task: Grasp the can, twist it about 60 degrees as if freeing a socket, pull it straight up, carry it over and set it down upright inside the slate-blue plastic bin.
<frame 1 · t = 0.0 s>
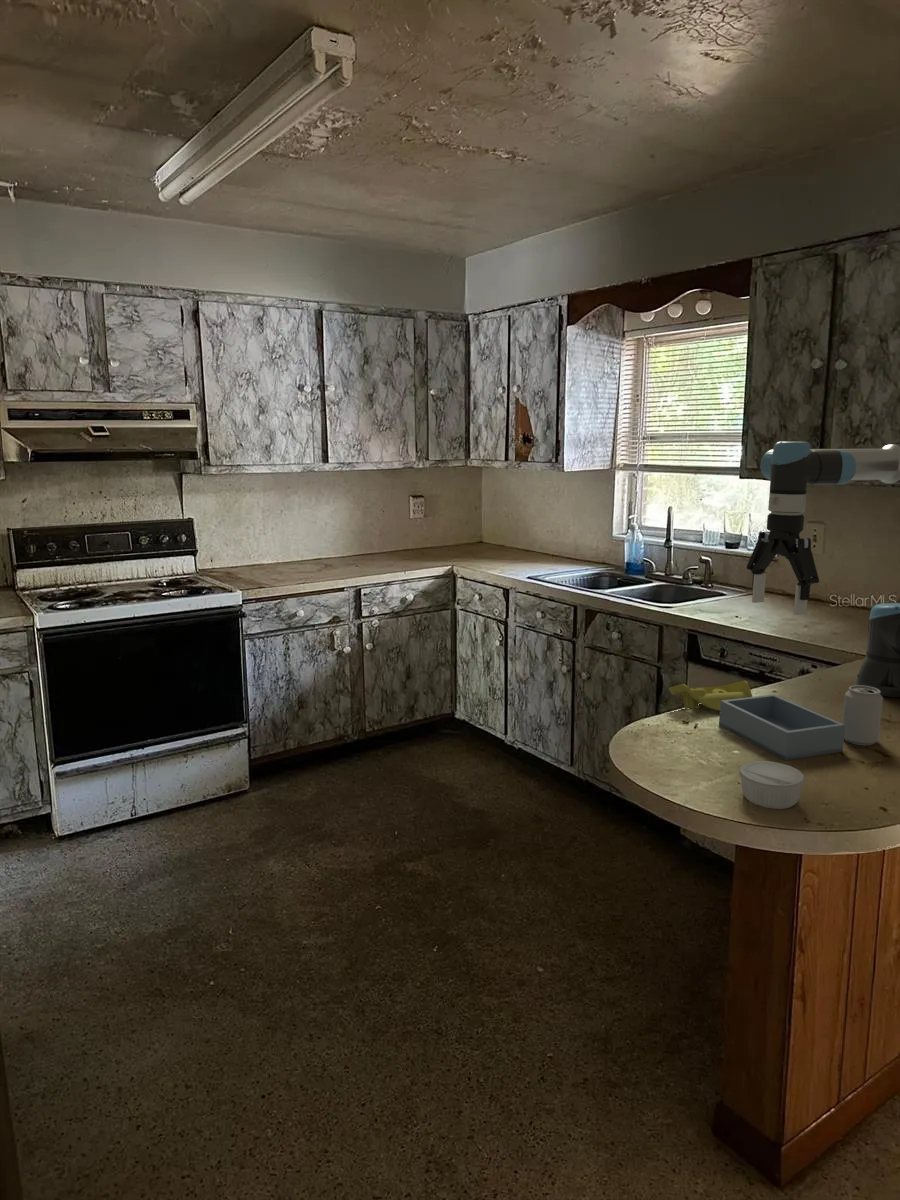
hand: (778, 608, 188), 28 cm above the countertop, fingers open, 13 cm apart
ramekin: (769, 800, 156), on the countertop
plastic component: (707, 707, 208), on the countertop
can: (859, 741, 185), on the countertop
bin: (778, 738, 186), on the countertop
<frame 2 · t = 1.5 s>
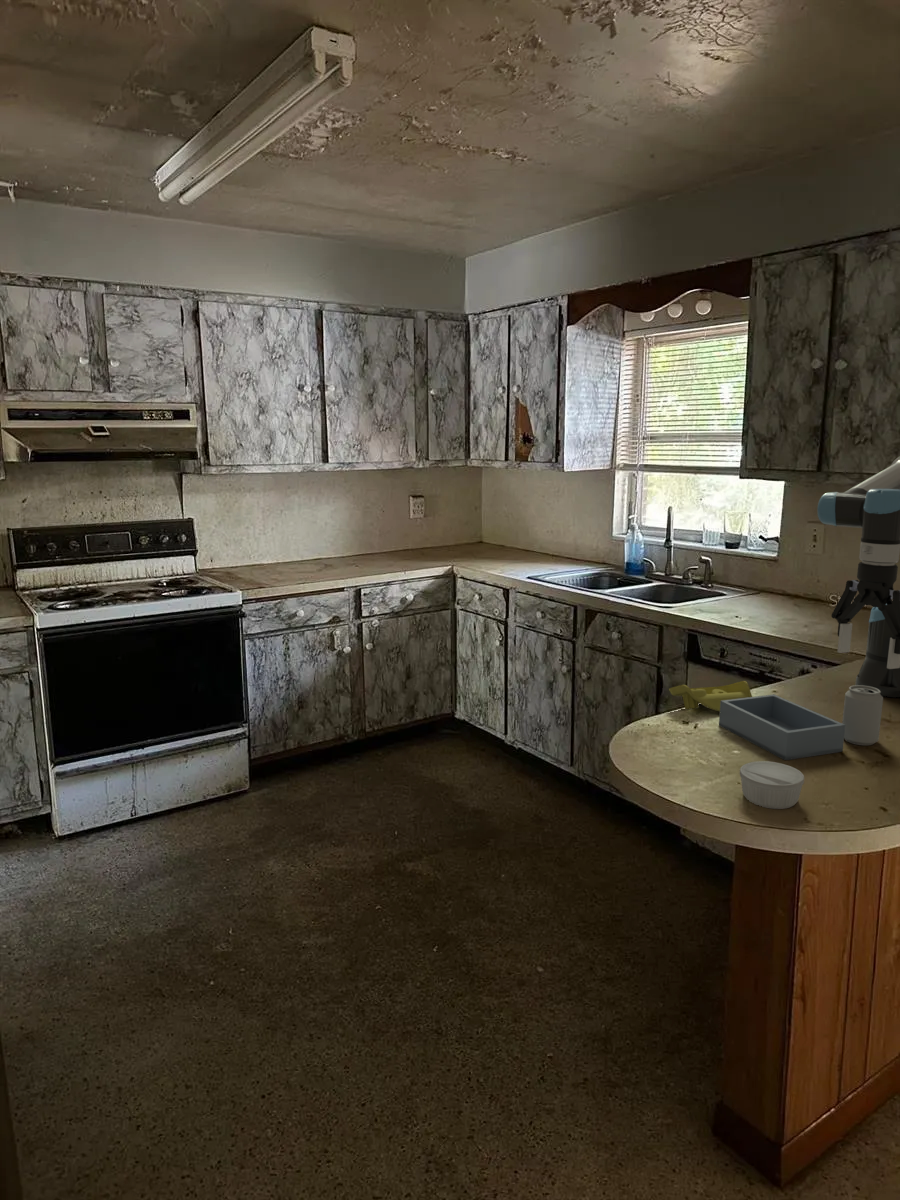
hand: (867, 660, 181), 18 cm above the countertop, fingers open, 13 cm apart
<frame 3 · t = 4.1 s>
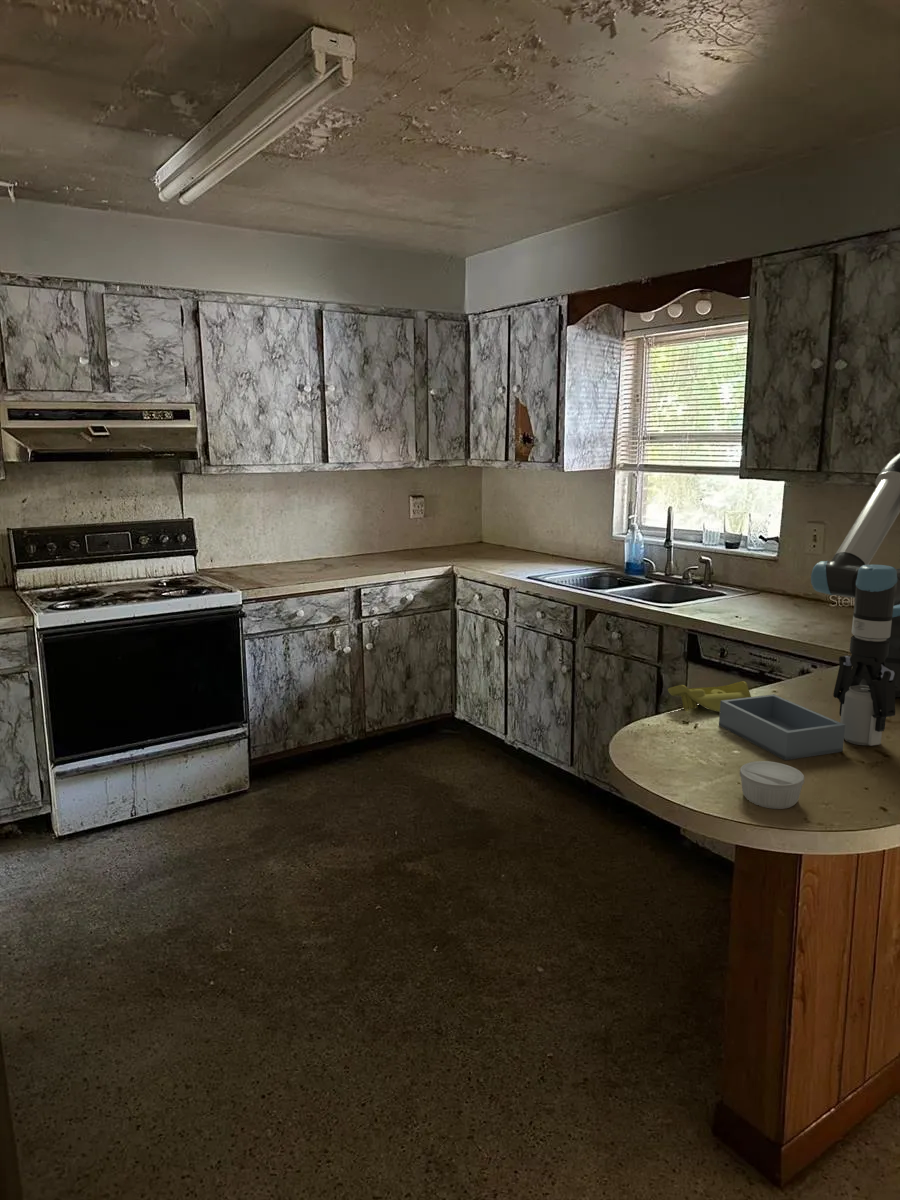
hand: (859, 737, 185), 1 cm above the countertop, fingers closed on can, 7 cm apart
can: (859, 741, 185), on the countertop, touching gripper
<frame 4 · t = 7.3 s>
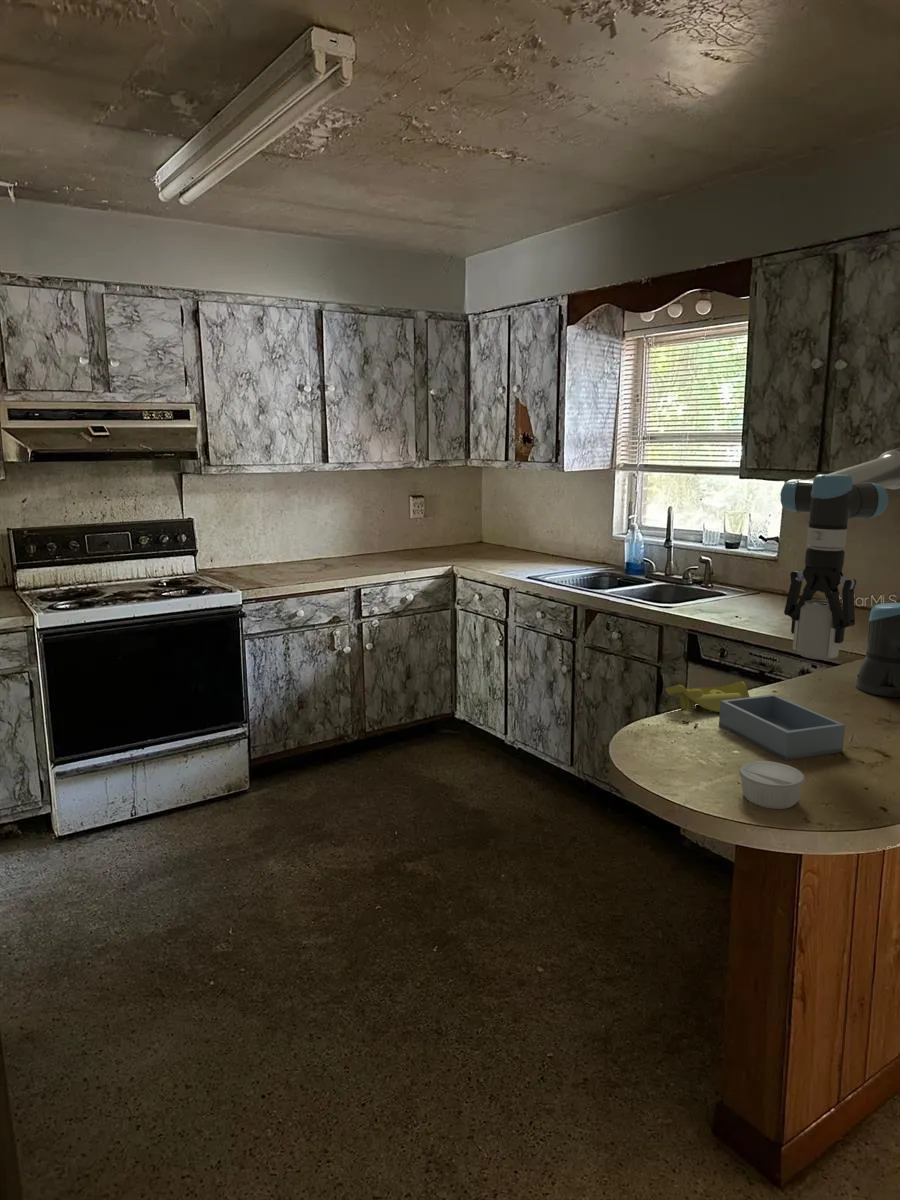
hand: (814, 652, 182), 20 cm above the countertop, fingers closed on can, 7 cm apart
can: (814, 656, 182), point 19 cm above the countertop, touching gripper
when the fingers open (3 cm above the countertop, at t = 11.0 s): can drops 2 cm, resting on bin.
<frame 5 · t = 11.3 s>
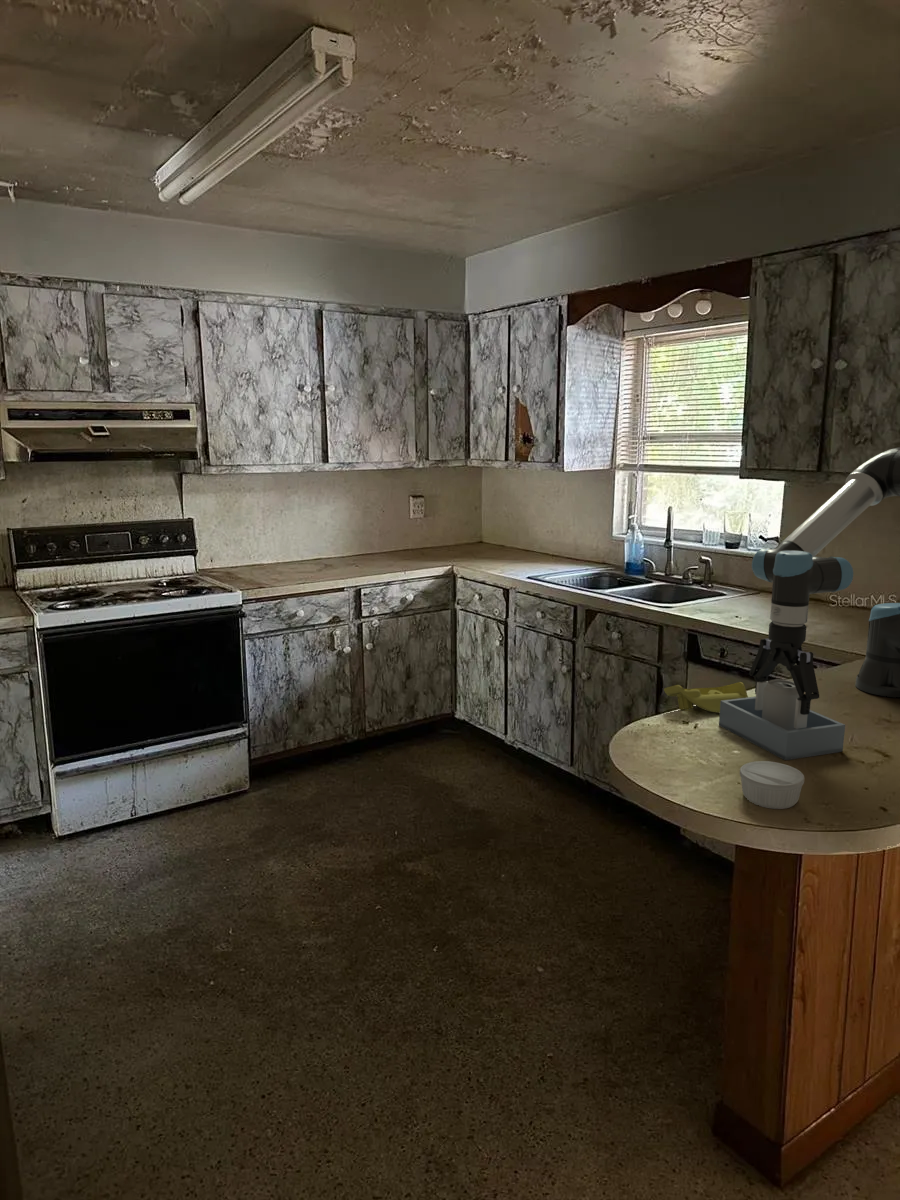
hand: (779, 718, 185), 5 cm above the countertop, fingers open, 12 cm apart
can: (778, 735, 186), point 1 cm above the countertop, touching bin
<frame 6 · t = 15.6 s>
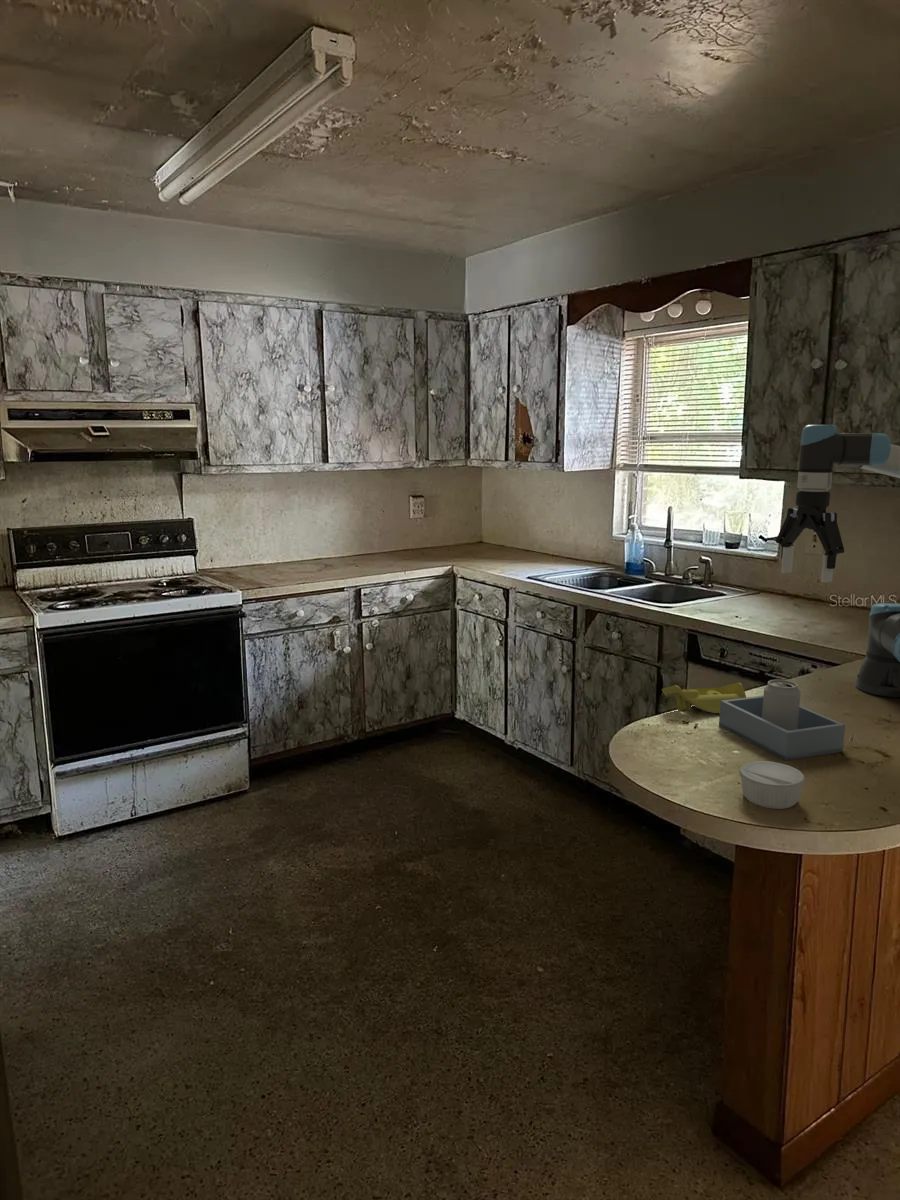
hand: (805, 577, 206), 32 cm above the countertop, fingers open, 13 cm apart
at the end: can inside the target area on the bin (0.0 cm from its centre), point 0.6 cm above the bin's base; can tilted 0°; the gripper is holding nothing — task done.
